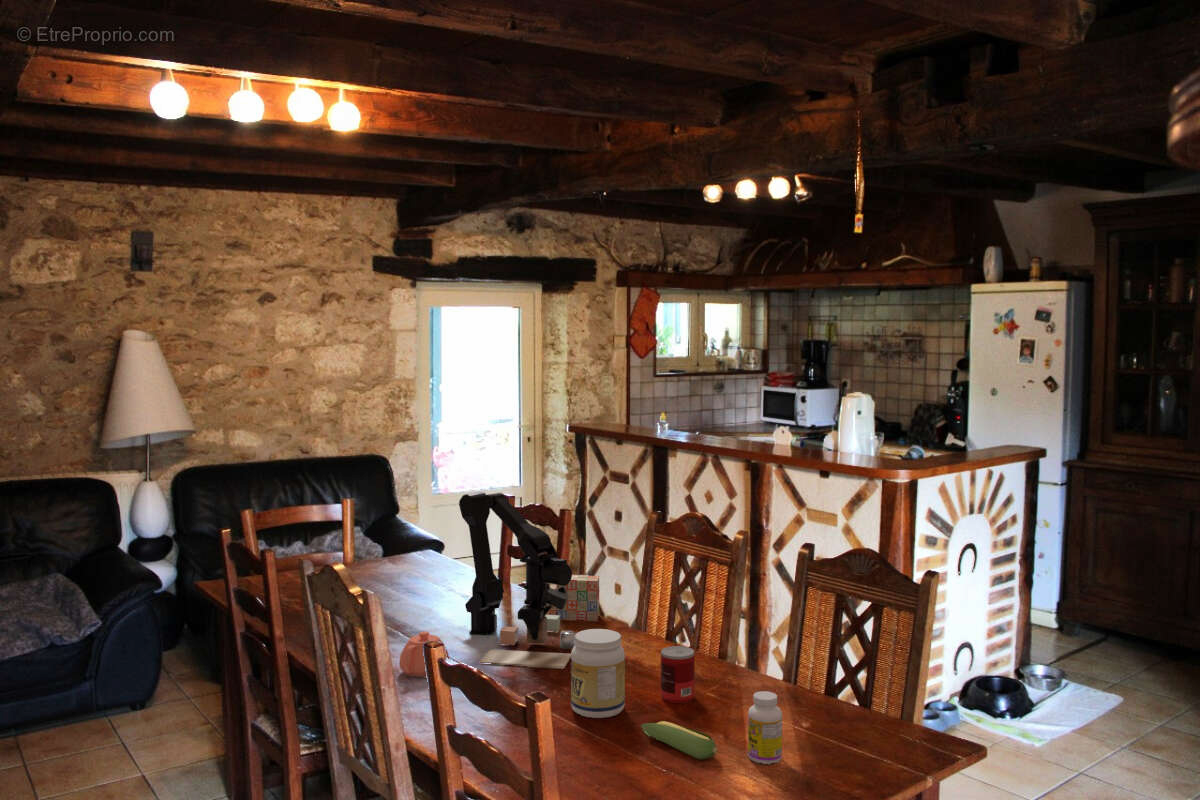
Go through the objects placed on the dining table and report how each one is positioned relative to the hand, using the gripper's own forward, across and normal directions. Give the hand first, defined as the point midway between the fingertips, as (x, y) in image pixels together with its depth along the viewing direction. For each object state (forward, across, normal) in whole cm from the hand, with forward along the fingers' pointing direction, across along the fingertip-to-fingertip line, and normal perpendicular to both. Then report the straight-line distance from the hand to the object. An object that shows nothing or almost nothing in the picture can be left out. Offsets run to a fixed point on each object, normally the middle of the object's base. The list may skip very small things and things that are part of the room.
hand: (536, 636), depth 265 cm
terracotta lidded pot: (+3, -26, +23) cm, 35 cm away
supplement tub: (+3, -42, -24) cm, 48 cm away
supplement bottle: (+3, -62, -61) cm, 87 cm away
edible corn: (+3, -59, -44) cm, 73 cm away
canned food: (+3, -32, -41) cm, 52 cm away
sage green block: (+3, +14, -1) cm, 14 cm away
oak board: (+2, -12, 0) cm, 12 cm away
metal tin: (+2, 0, -8) cm, 9 cm away
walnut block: (+1, 0, 0) cm, 1 cm away
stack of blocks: (+3, +28, -1) cm, 28 cm away
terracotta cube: (+3, +1, +8) cm, 8 cm away
